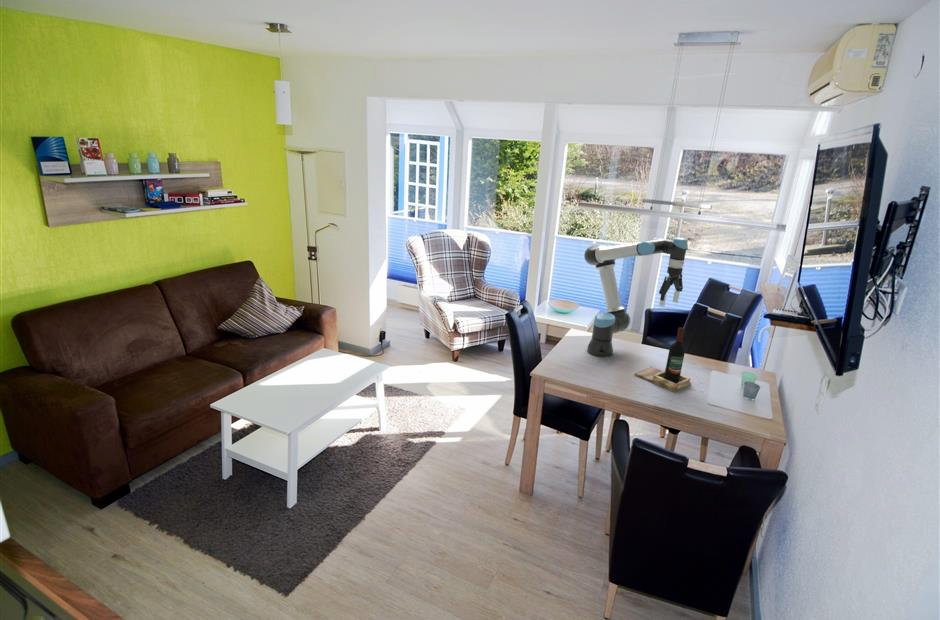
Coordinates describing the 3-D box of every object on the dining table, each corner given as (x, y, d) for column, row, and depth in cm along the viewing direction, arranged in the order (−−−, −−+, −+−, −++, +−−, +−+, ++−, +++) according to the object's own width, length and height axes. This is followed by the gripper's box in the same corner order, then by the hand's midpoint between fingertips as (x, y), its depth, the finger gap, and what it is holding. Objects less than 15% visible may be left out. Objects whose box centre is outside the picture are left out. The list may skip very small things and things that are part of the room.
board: (634, 374, 276) (635, 368, 275) (650, 368, 286) (652, 362, 285) (674, 392, 258) (676, 385, 257) (690, 384, 268) (692, 378, 267)
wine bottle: (676, 378, 271) (686, 326, 262) (680, 385, 264) (691, 331, 255) (661, 377, 272) (671, 325, 263) (665, 383, 265) (676, 330, 255)
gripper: (669, 270, 263) (662, 309, 269) (693, 265, 278) (686, 302, 284) (656, 267, 268) (649, 305, 275) (681, 262, 283) (674, 299, 290)
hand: (668, 304), depth 280 cm, fingers open, 13 cm apart
